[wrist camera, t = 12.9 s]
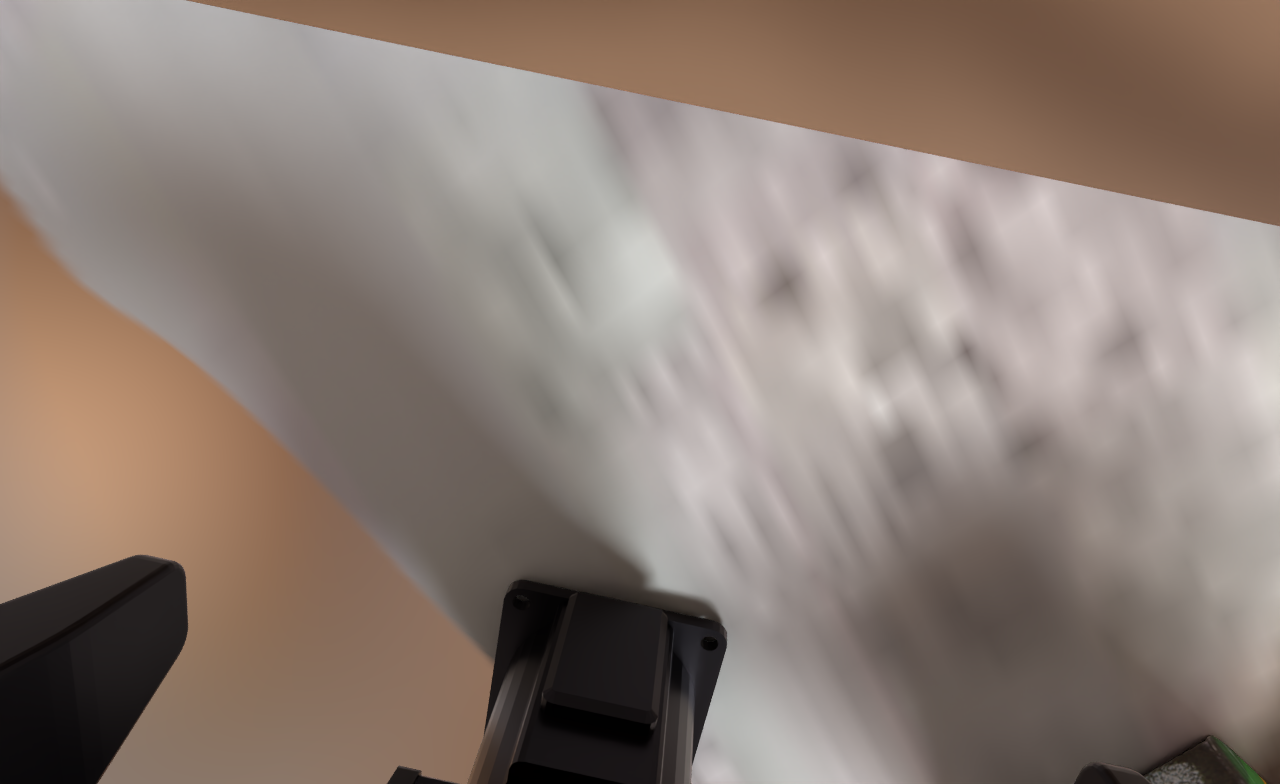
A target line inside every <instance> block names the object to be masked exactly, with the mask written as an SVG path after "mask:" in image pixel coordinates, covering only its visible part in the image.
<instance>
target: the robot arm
mask: <svg viewBox="0 0 1280 784" xmlns="http://www.w3.org/2000/svg"><path fill="white" fill-rule="evenodd" d="M516 596H524V597H527V599H528V600H529V601H521V600H519V599H518V598H517V597H516ZM187 632H188V615H187V594H186V576H185V571H184V569H183V567H182V566H181V565H180V564H179V563H177V562H175V561H171V560H167V559H162V558H158V557H153V556H148V555H135V556H132V557H129V558H126V559H123V560H120V561H118V562H115V563H112V564H109V565H107V566H104V567H101V568H98V569H96V570H93V571H90V572H88V573H85V574H82V575H79V576H76V577H74V578H71V579H68V580H65V581H63V582H60V583H57V584H55V585H52V586H49V587H46V588H44V589H41V590H38V591H35V592H32V593H30V594H27V595H24V596H21V597H19V598H16V599H13V600H10V601H8V602H5V603H2V604H0V784H97V783H98V782H99V780H100V779H101V777H102V776H103V774H104V772H105V771H106V770H107V768H108V766H109V765H110V763H111V762H112V760H113V759H114V757H115V755H116V754H117V752H118V751H119V749H120V747H121V746H122V744H123V743H124V741H125V740H126V738H127V736H128V735H129V733H130V731H131V730H132V728H133V727H134V725H135V724H136V722H137V721H138V719H139V717H140V716H141V714H142V713H143V711H144V710H145V708H146V706H147V705H148V703H149V701H150V700H151V698H152V697H153V695H154V694H155V692H156V691H157V689H158V687H159V686H160V684H161V683H162V681H163V679H164V678H165V676H166V675H167V673H168V671H169V670H170V668H171V667H172V665H173V664H174V662H175V660H176V659H177V657H178V656H179V654H180V652H181V650H182V648H183V646H184V643H185V640H186V637H187ZM705 637H714V638H716V640H714V641H706V640H704V639H703V638H705ZM726 648H727V632H726V630H725V628H724V627H723V626H722V625H721V624H720V623H718V622H715V621H712V620H707V619H703V618H698V617H694V616H689V615H684V614H680V613H675V612H670V611H666V610H661V609H658V608H653V607H649V606H644V605H639V604H635V603H630V602H626V601H621V600H616V599H612V598H607V597H602V596H598V595H593V594H589V593H584V592H578V591H573V590H569V589H564V588H559V587H555V586H550V585H546V584H541V583H536V582H532V581H527V580H518V581H515V582H513V583H512V584H511V585H510V586H509V588H508V591H507V593H506V596H505V598H504V603H503V610H502V617H501V623H500V630H499V637H498V644H497V650H496V657H495V664H494V670H493V677H492V684H491V691H490V698H489V704H488V711H487V718H486V725H485V731H484V737H483V740H482V743H481V745H480V748H479V751H478V754H477V757H476V760H475V762H474V765H473V768H472V771H471V774H470V777H469V779H468V782H467V784H691V775H692V764H693V761H694V757H695V754H696V750H697V747H698V743H699V740H700V737H701V733H702V730H703V726H704V723H705V720H706V716H707V713H708V709H709V706H710V702H711V699H712V696H713V692H714V689H715V685H716V682H717V679H718V675H719V672H720V668H721V665H722V661H723V658H724V655H725V651H726ZM387 784H458V783H454V782H449V781H445V780H440V779H436V778H431V777H426V776H422V775H421V771H420V770H416V769H411V768H407V767H402V766H398V767H397V769H396V771H395V772H394V774H393V776H392V777H391V778H390V780H389V782H388V783H387ZM1074 784H1152V783H1150V782H1149V781H1148V780H1147V779H1146V778H1145V777H1144V776H1142V775H1141V774H1140V773H1138V772H1136V771H1135V770H1132V769H1129V768H1125V767H1121V766H1116V765H1111V764H1107V763H1102V762H1091V763H1089V764H1087V765H1086V766H1084V768H1083V769H1082V770H1081V772H1080V774H1079V775H1078V777H1077V779H1076V781H1075V783H1074Z"/></svg>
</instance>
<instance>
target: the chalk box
mask: <svg viewBox="0 0 1280 784" xmlns="http://www.w3.org/2000/svg"><path fill="white" fill-rule="evenodd" d="M1144 777H1145V778H1146V779H1147V780H1148V781H1149V782H1150V783H1152V784H1267V783H1266V782H1265V781H1264V780H1263V779H1262V778H1261V777H1260V776H1259V775H1258V774H1257V773H1256V772H1255V771H1254V770H1253V769H1252V768H1251V767H1249V766H1248V765H1247V764H1246V763H1245V762H1244V761H1243V760H1242V759H1241V758H1240V757H1239V756H1238V755H1237V754H1236V753H1234V752H1233V751H1232V750H1231V749H1230V748H1229V747H1228V746H1227V745H1225V744H1224V743H1223V742H1221V741H1220V740H1219V739H1217V738H1215V737H1213V736H1209V737H1207V739H1206V740H1205V741H1204V742H1202V743H1199V744H1198V745H1197V746H1195V747H1194V748H1193V749H1190V750H1188V751H1186V752H1184V753H1183V754H1182V755H1180V756H1176V757H1175V758H1174V759H1172V760H1171V761H1169V762H1167V763H1165V764H1164V765H1162V766H1161V767H1158V768H1156V769H1154V770H1153V771H1151V772H1150V773H1148V774H1146V775H1144Z"/></svg>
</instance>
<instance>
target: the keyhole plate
mask: <svg viewBox="0 0 1280 784" xmlns="http://www.w3.org/2000/svg"><path fill="white" fill-rule="evenodd" d="M187 1H192V2H197V3H202V4H207V5H212V6H217V7H221V8H226V9H231V10H236V11H241V12H246V13H250V14H255V15H260V16H265V17H270V18H275V19H279V20H284V21H289V22H294V23H299V24H304V25H309V26H313V27H318V28H323V29H328V30H333V31H338V32H342V33H347V34H352V35H357V36H362V37H367V38H371V39H376V40H381V41H386V42H391V43H396V44H401V45H405V46H410V47H415V48H420V49H425V50H430V51H434V52H439V53H444V54H449V55H454V56H459V57H463V58H468V59H473V60H478V61H483V62H488V63H493V64H497V65H502V66H507V67H512V68H517V69H522V70H526V71H531V72H536V73H541V74H546V75H551V76H555V77H560V78H565V79H570V80H575V81H580V82H585V83H589V84H594V85H599V86H604V87H609V88H614V89H618V90H623V91H628V92H633V93H638V94H643V95H647V96H652V97H657V98H662V99H667V100H672V101H677V102H681V103H686V104H691V105H696V106H701V107H706V108H710V109H715V110H720V111H725V112H730V113H735V114H739V115H744V116H749V117H754V118H759V119H764V120H769V121H773V122H778V123H783V124H788V125H793V126H798V127H802V128H807V129H812V130H817V131H822V132H827V133H831V134H836V135H841V136H846V137H851V138H856V139H861V140H865V141H870V142H875V143H880V144H885V145H890V146H894V147H899V148H904V149H909V150H914V151H919V152H923V153H928V154H933V155H938V156H943V157H948V158H953V159H957V160H962V161H967V162H972V163H977V164H982V165H986V166H991V167H996V168H1001V169H1006V170H1011V171H1015V172H1020V173H1025V174H1030V175H1035V176H1040V177H1045V178H1049V179H1054V180H1059V181H1064V182H1069V183H1074V184H1078V185H1083V186H1088V187H1093V188H1098V189H1103V190H1107V191H1112V192H1117V193H1122V194H1127V195H1132V196H1137V197H1141V198H1146V199H1151V200H1156V201H1161V202H1166V203H1170V204H1175V205H1180V206H1185V207H1190V208H1195V209H1199V210H1204V211H1209V212H1214V213H1219V214H1224V215H1229V216H1233V217H1238V218H1243V219H1248V220H1253V221H1258V222H1262V223H1267V224H1272V225H1277V226H1280V0H187Z"/></svg>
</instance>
